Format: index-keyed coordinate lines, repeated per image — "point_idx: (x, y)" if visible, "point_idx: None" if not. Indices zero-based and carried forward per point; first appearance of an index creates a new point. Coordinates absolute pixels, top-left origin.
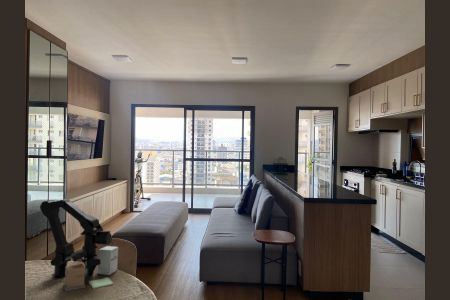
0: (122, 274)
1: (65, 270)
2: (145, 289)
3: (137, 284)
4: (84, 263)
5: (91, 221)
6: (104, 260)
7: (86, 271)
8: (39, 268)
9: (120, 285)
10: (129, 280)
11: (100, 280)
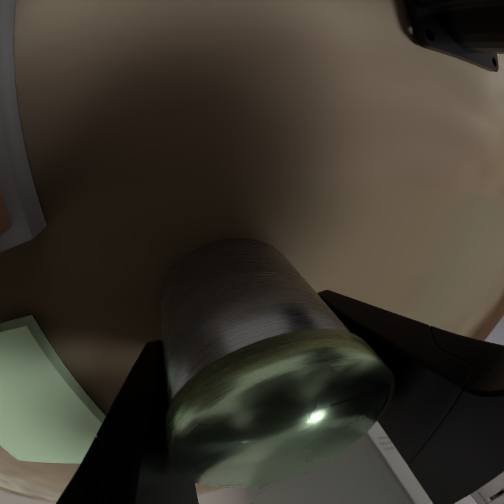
0: (211, 486)
1: (479, 9)
2: (5, 491)
3: (45, 497)
4: (496, 359)
5: None
6: None
7: (176, 380)
8: None
9: (17, 467)
10: None
11: (59, 422)
